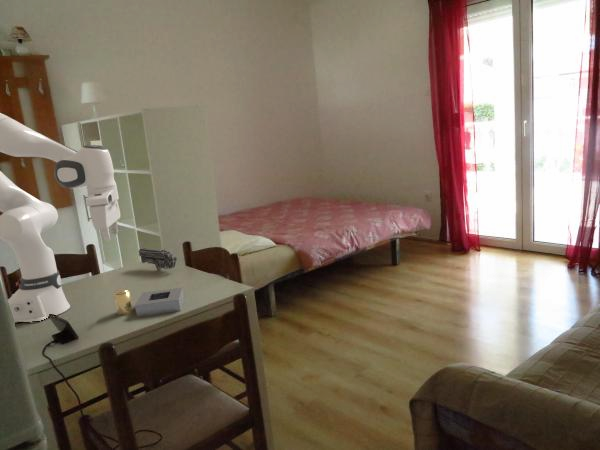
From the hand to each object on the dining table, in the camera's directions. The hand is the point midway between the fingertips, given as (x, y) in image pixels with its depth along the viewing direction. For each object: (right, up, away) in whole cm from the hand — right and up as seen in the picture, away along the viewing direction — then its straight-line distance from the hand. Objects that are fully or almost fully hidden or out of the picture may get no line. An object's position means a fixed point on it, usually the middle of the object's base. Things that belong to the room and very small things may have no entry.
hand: (111, 237), depth 155 cm
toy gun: (0, -16, +54) cm, 57 cm away
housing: (+14, -25, +7) cm, 30 cm away
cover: (+3, -26, +6) cm, 27 cm away
